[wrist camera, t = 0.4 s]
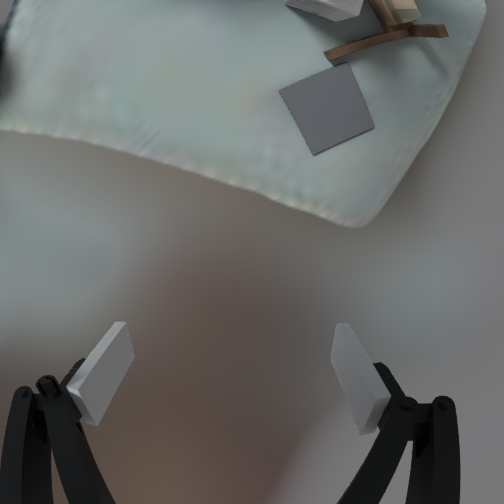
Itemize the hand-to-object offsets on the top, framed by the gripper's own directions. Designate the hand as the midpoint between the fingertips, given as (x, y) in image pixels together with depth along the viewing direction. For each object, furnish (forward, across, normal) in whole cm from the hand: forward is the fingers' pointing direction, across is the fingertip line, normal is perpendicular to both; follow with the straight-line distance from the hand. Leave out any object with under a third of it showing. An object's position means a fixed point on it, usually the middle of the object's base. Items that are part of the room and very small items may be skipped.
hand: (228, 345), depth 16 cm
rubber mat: (+24, +13, +20) cm, 34 cm away
